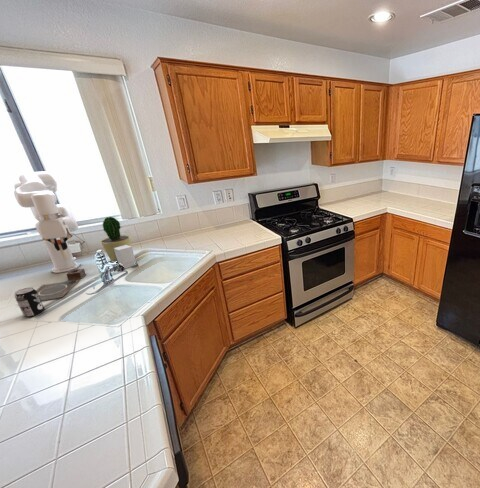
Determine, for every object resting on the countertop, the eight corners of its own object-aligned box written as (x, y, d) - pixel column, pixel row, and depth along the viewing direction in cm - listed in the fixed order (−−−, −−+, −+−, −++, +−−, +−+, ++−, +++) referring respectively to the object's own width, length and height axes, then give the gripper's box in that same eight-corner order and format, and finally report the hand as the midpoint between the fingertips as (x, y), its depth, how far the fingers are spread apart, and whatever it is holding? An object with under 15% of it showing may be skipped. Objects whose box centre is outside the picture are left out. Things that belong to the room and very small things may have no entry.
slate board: (43, 285, 144) (43, 284, 143) (80, 280, 149) (79, 279, 149) (20, 304, 126) (19, 303, 126) (62, 298, 132) (61, 296, 131)
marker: (65, 259, 146) (57, 239, 142) (69, 259, 147) (61, 239, 143) (63, 261, 144) (55, 240, 140) (67, 260, 145) (59, 240, 141)
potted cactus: (113, 266, 166) (98, 220, 156) (103, 261, 174) (88, 217, 164) (139, 258, 178) (127, 215, 168) (129, 253, 186) (117, 212, 176)
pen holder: (73, 276, 154) (70, 270, 153) (86, 274, 156) (83, 268, 155) (68, 280, 149) (65, 274, 147) (81, 278, 151) (79, 272, 149)
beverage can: (44, 307, 124) (34, 285, 120) (46, 312, 120) (35, 289, 116) (23, 314, 119) (12, 291, 115) (25, 319, 115) (13, 296, 111)
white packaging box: (137, 264, 168) (132, 246, 164) (124, 269, 162) (118, 250, 158) (131, 262, 172) (126, 244, 168) (118, 266, 166) (113, 247, 162)
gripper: (72, 213, 143) (83, 245, 149) (34, 216, 137) (47, 249, 144) (65, 217, 136) (77, 249, 143) (25, 220, 131) (39, 254, 137)
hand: (62, 249), depth 143 cm, fingers closed on marker, 2 cm apart
